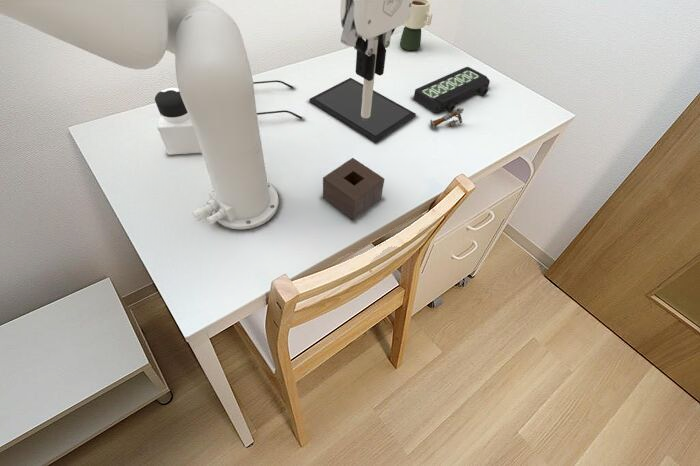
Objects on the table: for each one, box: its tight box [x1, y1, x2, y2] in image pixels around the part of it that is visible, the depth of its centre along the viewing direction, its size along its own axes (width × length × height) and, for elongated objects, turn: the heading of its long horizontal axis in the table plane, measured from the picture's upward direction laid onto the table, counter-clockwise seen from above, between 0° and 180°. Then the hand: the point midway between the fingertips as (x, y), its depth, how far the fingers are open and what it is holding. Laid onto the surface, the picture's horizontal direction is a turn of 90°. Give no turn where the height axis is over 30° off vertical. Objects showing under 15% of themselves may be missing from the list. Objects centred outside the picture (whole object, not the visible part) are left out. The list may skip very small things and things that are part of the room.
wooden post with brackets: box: [429, 107, 465, 130], centre depth 91 cm, size 2×8×4 cm, turn 105°
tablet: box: [308, 77, 417, 144], centre depth 94 cm, size 15×22×1 cm
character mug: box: [399, 0, 433, 51], centre depth 111 cm, size 11×7×13 cm, turn 48°
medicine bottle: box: [154, 87, 202, 156], centre depth 78 cm, size 7×7×12 cm
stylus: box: [361, 36, 378, 122], centre depth 60 cm, size 2×2×14 cm
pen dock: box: [322, 157, 385, 221], centre depth 73 cm, size 8×8×6 cm
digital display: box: [413, 66, 491, 114], centre depth 100 cm, size 21×3×10 cm
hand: (369, 73), depth 59 cm, fingers closed on stylus, 1 cm apart
